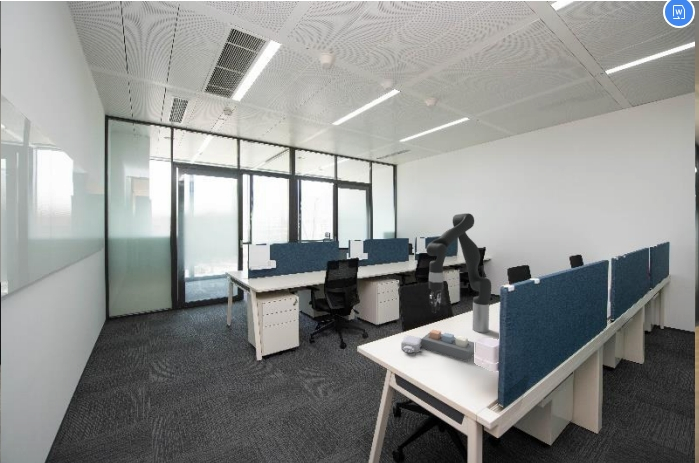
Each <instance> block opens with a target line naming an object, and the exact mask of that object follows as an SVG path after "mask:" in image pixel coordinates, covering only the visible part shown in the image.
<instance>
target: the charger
mask: <svg viewBox="0 0 699 463" xmlns="http://www.w3.org/2000/svg"><path fill="white" fill-rule="evenodd" d="M421 339H422V337H419V336H411V335H405V336H404V338H402V340H401V342H400V343H401V344H400V348H401V350H402V351H404V352H405V353H409V354H411V353H419V352H420V350H421V349H422V348H421Z"/></svg>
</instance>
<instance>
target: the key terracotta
mask: <svg viewBox="0 0 699 463" xmlns="http://www.w3.org/2000/svg"><path fill="white" fill-rule="evenodd" d="M429 333H430V337H429V338H431V339H435V340H440V339H441V334H442V331H441V330H437V329H432V330H430V331H429Z"/></svg>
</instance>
